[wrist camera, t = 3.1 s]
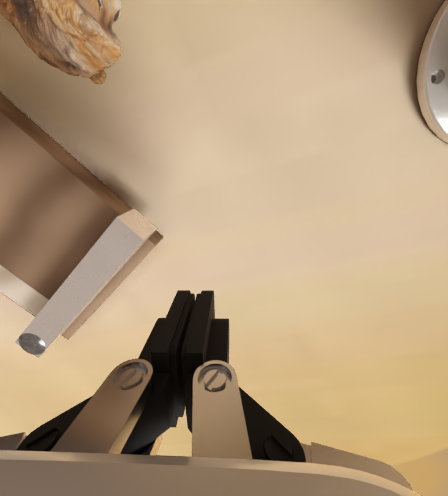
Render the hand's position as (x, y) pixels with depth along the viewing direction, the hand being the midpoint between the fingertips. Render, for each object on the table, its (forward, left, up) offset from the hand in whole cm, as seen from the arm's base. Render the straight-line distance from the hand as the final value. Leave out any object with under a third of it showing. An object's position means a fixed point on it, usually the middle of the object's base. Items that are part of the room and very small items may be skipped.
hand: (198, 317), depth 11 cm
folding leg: (+6, +10, -10) cm, 15 cm away
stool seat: (+13, +11, -12) cm, 21 cm away
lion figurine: (+19, -4, -13) cm, 23 cm away
